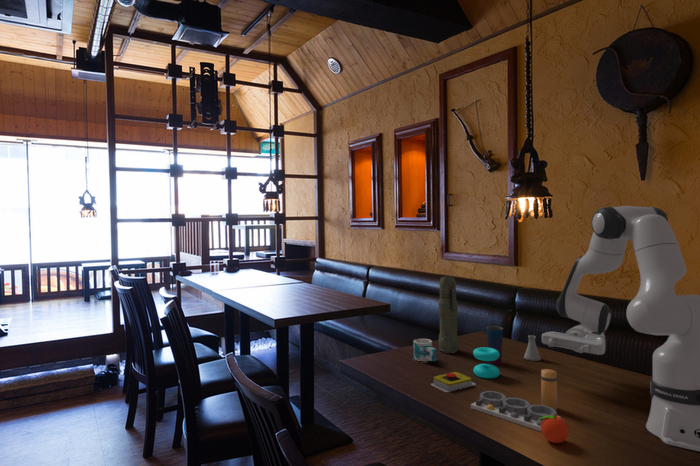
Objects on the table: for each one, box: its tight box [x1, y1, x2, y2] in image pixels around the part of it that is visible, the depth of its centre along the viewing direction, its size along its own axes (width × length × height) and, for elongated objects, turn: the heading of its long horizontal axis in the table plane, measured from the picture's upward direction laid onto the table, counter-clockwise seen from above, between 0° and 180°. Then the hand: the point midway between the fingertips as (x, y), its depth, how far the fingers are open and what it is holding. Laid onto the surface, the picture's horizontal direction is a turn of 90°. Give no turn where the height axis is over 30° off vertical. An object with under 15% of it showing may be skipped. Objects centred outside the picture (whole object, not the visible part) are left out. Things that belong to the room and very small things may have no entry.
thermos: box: [437, 275, 459, 353], centre depth 205 cm, size 9×12×35 cm
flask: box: [523, 335, 542, 362], centre depth 191 cm, size 7×7×10 cm
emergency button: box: [430, 371, 477, 393], centre depth 163 cm, size 9×4×15 cm
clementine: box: [537, 415, 569, 444], centre depth 120 cm, size 8×7×7 cm
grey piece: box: [470, 390, 562, 433], centre depth 137 cm, size 24×11×3 cm, turn 43°
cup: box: [485, 325, 504, 366], centre depth 187 cm, size 7×7×15 cm
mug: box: [412, 338, 437, 363], centre depth 191 cm, size 8×12×8 cm
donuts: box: [472, 346, 501, 379], centre depth 172 cm, size 10×10×10 cm
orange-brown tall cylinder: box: [540, 368, 558, 412], centre depth 141 cm, size 5×5×12 cm
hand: (564, 347), depth 150 cm, fingers open, 8 cm apart
